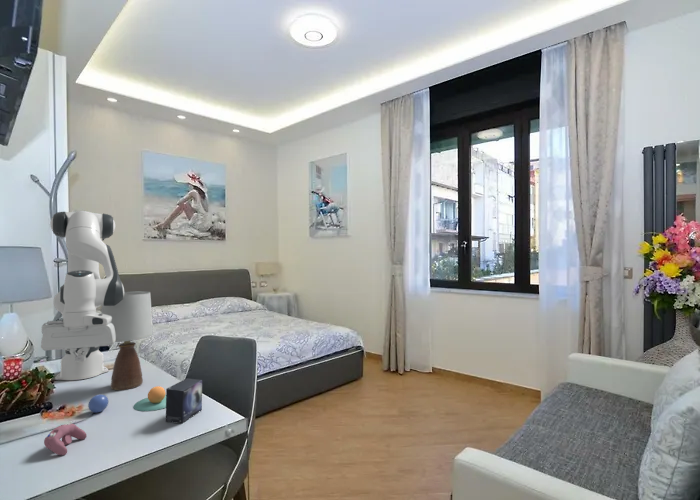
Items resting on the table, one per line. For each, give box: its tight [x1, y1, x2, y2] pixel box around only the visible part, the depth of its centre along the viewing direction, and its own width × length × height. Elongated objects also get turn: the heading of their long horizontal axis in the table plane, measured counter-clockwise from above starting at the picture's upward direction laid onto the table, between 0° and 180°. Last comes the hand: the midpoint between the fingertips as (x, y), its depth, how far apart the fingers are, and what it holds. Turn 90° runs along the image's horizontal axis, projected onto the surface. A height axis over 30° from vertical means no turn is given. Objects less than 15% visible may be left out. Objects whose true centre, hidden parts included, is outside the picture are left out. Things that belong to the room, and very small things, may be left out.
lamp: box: [100, 290, 154, 391], centre depth 149 cm, size 19×19×37 cm
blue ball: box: [87, 394, 109, 414], centre depth 124 cm, size 6×6×6 cm
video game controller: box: [43, 422, 87, 456], centre depth 101 cm, size 10×5×7 cm, turn 6°
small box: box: [165, 378, 203, 424], centre depth 120 cm, size 11×6×10 cm, turn 168°
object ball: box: [147, 385, 166, 403], centre depth 131 cm, size 6×6×6 cm
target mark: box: [133, 394, 166, 412], centre depth 131 cm, size 14×14×1 cm
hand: (79, 361), depth 123 cm, fingers closed
